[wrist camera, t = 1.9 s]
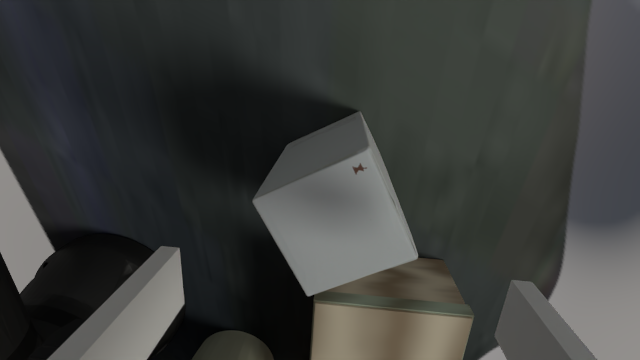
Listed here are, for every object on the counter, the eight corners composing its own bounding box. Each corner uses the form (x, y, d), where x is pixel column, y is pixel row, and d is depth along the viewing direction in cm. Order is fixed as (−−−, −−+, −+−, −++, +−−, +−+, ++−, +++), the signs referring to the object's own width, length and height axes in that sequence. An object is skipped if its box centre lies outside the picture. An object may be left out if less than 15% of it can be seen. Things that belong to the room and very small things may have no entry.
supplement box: (284, 143, 30) (246, 197, 18) (361, 108, 29) (373, 142, 17) (319, 212, 32) (304, 300, 20) (392, 183, 31) (423, 260, 19)
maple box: (311, 369, 39) (303, 443, 31) (320, 247, 33) (313, 301, 26) (418, 380, 38) (436, 458, 31) (444, 258, 33) (475, 317, 25)
